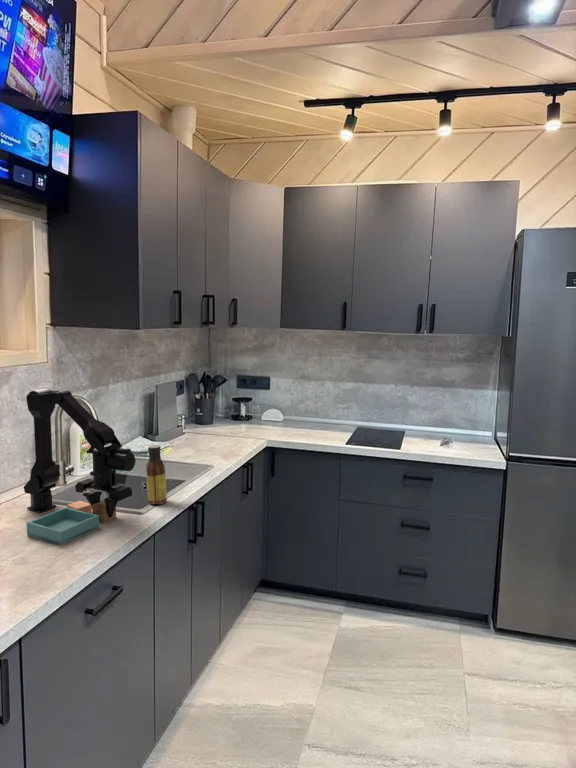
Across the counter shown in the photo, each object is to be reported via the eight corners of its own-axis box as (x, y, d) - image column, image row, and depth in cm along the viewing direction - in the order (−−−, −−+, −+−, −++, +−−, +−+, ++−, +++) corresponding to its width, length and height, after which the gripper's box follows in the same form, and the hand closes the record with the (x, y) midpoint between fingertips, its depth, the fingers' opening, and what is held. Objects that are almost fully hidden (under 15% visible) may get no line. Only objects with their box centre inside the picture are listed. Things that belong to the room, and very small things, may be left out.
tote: (27, 535, 156) (26, 522, 156) (66, 519, 168) (65, 507, 168) (61, 545, 150) (60, 532, 149) (99, 528, 162) (98, 515, 162)
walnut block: (92, 520, 168) (91, 504, 168) (104, 514, 173) (104, 499, 172) (104, 522, 166) (103, 507, 165) (116, 517, 170) (115, 502, 170)
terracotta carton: (67, 513, 174) (66, 505, 174) (80, 509, 178) (80, 500, 178) (77, 518, 170) (77, 509, 170) (91, 513, 175) (91, 504, 174)
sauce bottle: (168, 499, 187) (167, 443, 184) (164, 506, 181) (163, 448, 178) (149, 499, 187) (148, 443, 184) (145, 506, 181) (143, 448, 178)
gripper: (143, 465, 170) (144, 512, 172) (100, 457, 178) (101, 502, 180) (117, 474, 160) (119, 524, 162) (73, 465, 168) (75, 513, 171)
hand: (104, 515), depth 169 cm, fingers closed on walnut block, 5 cm apart
